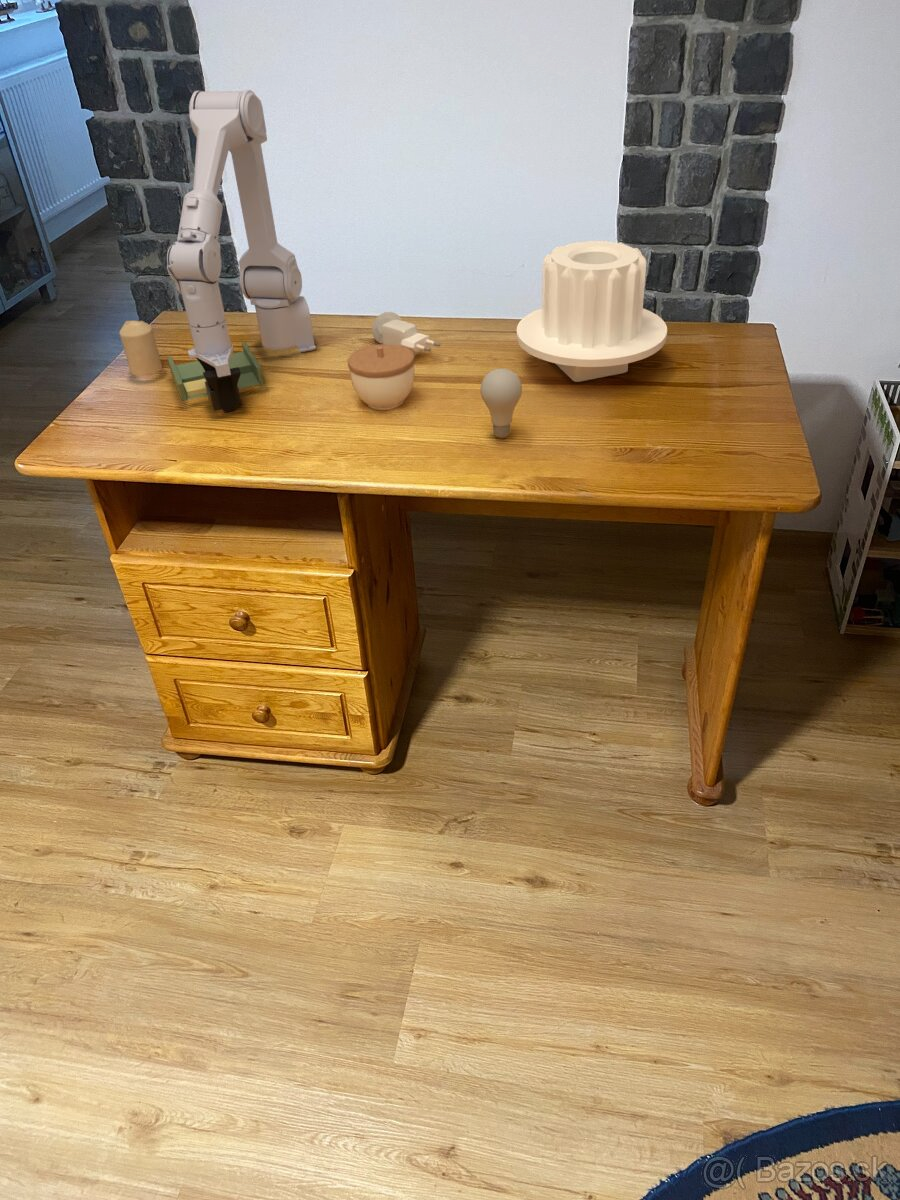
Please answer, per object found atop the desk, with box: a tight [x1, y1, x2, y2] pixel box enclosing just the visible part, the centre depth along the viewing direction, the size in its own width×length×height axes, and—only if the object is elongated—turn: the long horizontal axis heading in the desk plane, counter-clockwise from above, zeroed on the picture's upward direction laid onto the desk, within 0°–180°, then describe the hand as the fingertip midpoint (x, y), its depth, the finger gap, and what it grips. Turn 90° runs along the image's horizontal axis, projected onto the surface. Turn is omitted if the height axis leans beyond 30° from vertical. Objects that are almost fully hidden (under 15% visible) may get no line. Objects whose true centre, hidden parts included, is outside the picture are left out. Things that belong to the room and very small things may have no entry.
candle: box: [119, 320, 163, 377], centre depth 160 cm, size 6×6×10 cm
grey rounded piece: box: [371, 311, 403, 345], centre depth 170 cm, size 6×6×5 cm
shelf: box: [167, 341, 265, 402], centre depth 157 cm, size 14×12×4 cm
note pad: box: [183, 379, 207, 397], centre depth 154 cm, size 4×4×1 cm
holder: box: [205, 381, 242, 412], centre depth 150 cm, size 5×5×4 cm
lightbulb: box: [480, 367, 523, 439], centre depth 135 cm, size 6×6×11 cm
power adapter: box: [382, 319, 441, 357], centre depth 161 cm, size 11×5×6 cm, turn 50°
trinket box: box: [347, 343, 415, 411], centre depth 147 cm, size 11×11×9 cm
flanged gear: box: [516, 239, 668, 383], centre depth 151 cm, size 25×25×19 cm
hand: (225, 400), depth 150 cm, fingers open, 7 cm apart
